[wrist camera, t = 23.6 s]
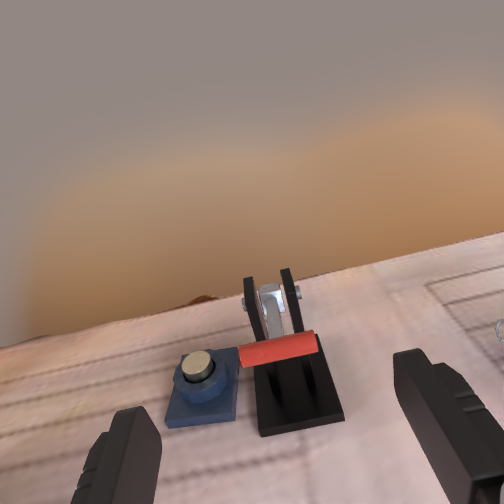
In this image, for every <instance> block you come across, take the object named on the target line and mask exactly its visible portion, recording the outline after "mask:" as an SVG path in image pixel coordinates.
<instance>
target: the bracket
mask: <svg viewBox="0 0 504 504" xmlns="http://www.w3.org/2000/svg"><path fill="white" fill-rule="evenodd" d="M280 273H281V277H282V281H283V286H284V290H285V295H286V299H287V303H288V308H289V312H290V316H291V321H292V325H293V329H294V334H295V333H299V332H304V326H303V321H302V317H301V312H300V307H299V302H298V300H299V299H302V296H301V292H300V288H299V286H294V283H293V279H292V276H291V273H290V269H289V268H286V269H282V270H280ZM243 284H244V298H242V305H243V309H244V311H247V312H248V315H249V319H250V322H251V325H252V328H253V332H254V335H255V338H256V341H257V342H258V341H263V340H267V339H269V336H268V331H267V327H266V324H265V320H264V317H263V313H262V310H261V306H260V302H259V299H258V295H257V292H256V288H255V285H254V281H253V277H252V276H251V277H247V278H244V279H243ZM315 337H316V341H317V345H318V352H316V353H312V354H307V355H302V356H298V357H293V358H288V359H284V360H279V361H274V362H270V363H265V364H260V365H256V366H253V367H254V379H255V392H256V404H257V417H258V429H259V433H260V436H261V437H267V436H272V435H277V434H282V433H287V432H291V431H296V430H301V429H306V428H311V427H316V426H321V425H326V424H331V423H336V422H341V421H345V418H344V413H343V410H342V407H341V404H340V401H339V398H338V395H337V392H336V389H335V386H334V383H333V380H332V377H331V374H330V371H329V368H328V365H327V362H326V359H325V356H324V353H323V350H322V347H321V344H320V341H319V338H318V335H317V334H315Z"/></svg>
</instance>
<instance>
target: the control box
mask: <svg viewBox="0 0 504 504" xmlns="http://www.w3.org/2000/svg"><path fill="white" fill-rule="evenodd" d="M201 351H205V352H207V353H209V355H210V357H211V360H212V362H213V364H214V372H213V374H212V375H211V376H210V378H208V379H207V380H205V381H203V382H202V383H196V384H193V383H190V382H189V381H188V380H187V378H186V376H185V374H184V372H183V370H182V363H183V361H184V359H185V358H186V357H187V356H188V355H190V354H187V355H182V359H181V362H180V364H179V365H178V366H177V368H176V370H175V374H174V377H173V380H174V383H175V384H174V388H173V392H172V395H171V399H170V402H169V406H168V410H167V413H166V417H165V423H166V424H167V426H168V428H169V429H170V428H178V427H186V426H194V425H202V424H210V423H219V422H227V421H235V413H236V400H237V387H238V374H239V361H240V357H239V350H238V347H232V348H226V349H219V350H211V349H208V350H201Z"/></svg>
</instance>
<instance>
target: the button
mask: <svg viewBox="0 0 504 504" xmlns="http://www.w3.org/2000/svg"><path fill="white" fill-rule="evenodd" d="M182 370H183V372H184V374H185V376H186V378H187V380H188V381H189V382H190V383H193V384H196V383H202V382H203V381H205V380H207V379H208V378H210V376H211V375H212V374H213V372H214V364H213V362H212V360H211V357H210V355H209V353H207V352H205V351H196V352H193V353H191V354H190V355H188V356H187V357H186V358H185V359H184V361H183V363H182Z"/></svg>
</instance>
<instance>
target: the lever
mask: <svg viewBox="0 0 504 504" xmlns="http://www.w3.org/2000/svg"><path fill="white" fill-rule="evenodd" d="M259 298H260V302H261V306H262V310H263V314H264V316H267V323H268V336H269V339H267V340H263V341H258V342H254V343H249V344H245V345H240V346H239V357H240V361H241V365H242V367H243V368H247V367H251V366H256V365H260V364H265V363H270V362H274V361H279V360H284V359H288V358H293V357H298V356H302V355H307V354H312V353H316V352H318V345H317V341H316V337H315V334H314V331H313V330H308V331H304V332H299V333H295V334H290V335H286V336H284V333H283V327H282V322H281V316H280V313H282V312H285V306H284V302H283V298H282V294H281V289H280V285H279V282H275V283H271V284H267V285H262V286H259Z"/></svg>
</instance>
